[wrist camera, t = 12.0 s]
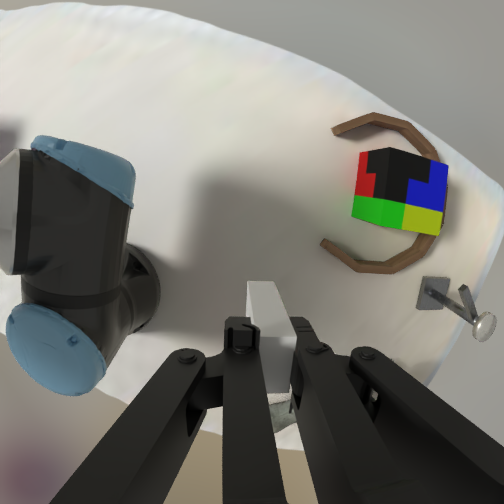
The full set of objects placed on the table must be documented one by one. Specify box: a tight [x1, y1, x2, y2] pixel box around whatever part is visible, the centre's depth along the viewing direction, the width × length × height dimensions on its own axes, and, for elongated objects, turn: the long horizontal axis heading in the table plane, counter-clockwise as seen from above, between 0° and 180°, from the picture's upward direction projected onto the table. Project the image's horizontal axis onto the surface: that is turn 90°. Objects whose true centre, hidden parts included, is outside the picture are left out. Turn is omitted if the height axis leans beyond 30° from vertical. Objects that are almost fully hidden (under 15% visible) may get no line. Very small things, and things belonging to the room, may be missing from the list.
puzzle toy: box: [352, 147, 448, 236], centre depth 40 cm, size 10×10×10 cm
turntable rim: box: [320, 112, 448, 274], centre depth 43 cm, size 24×21×3 cm
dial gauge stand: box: [416, 276, 496, 342], centre depth 41 cm, size 8×8×16 cm
